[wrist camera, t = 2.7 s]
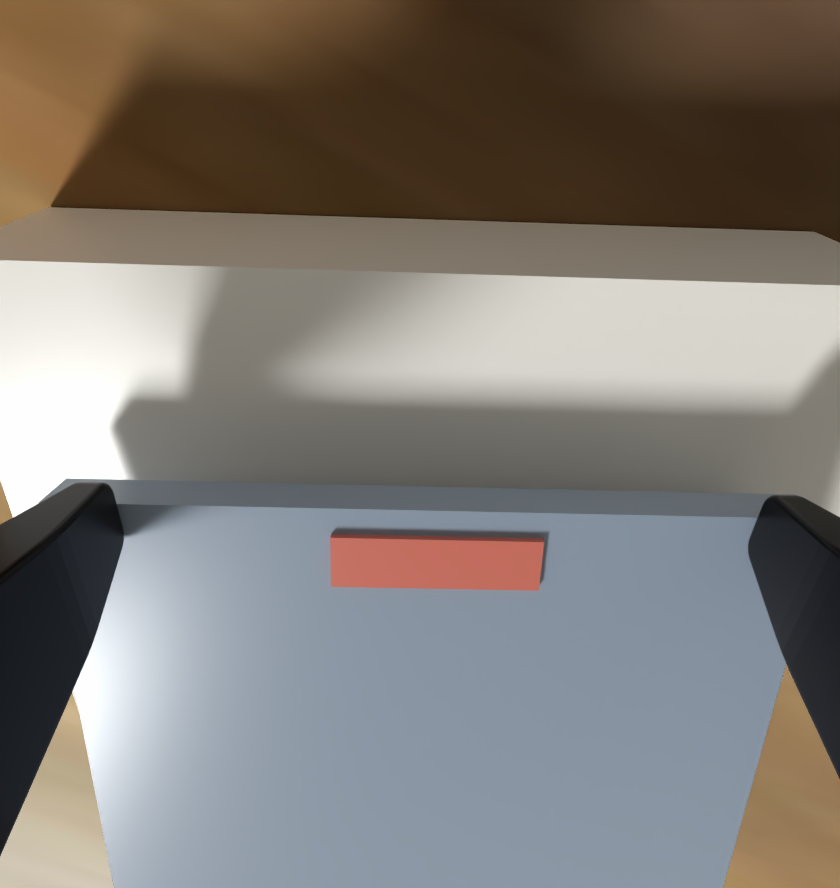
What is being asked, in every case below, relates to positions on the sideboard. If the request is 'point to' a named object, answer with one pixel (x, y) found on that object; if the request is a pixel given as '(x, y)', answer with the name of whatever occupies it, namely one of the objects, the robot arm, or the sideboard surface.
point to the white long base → (416, 354)
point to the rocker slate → (426, 686)
